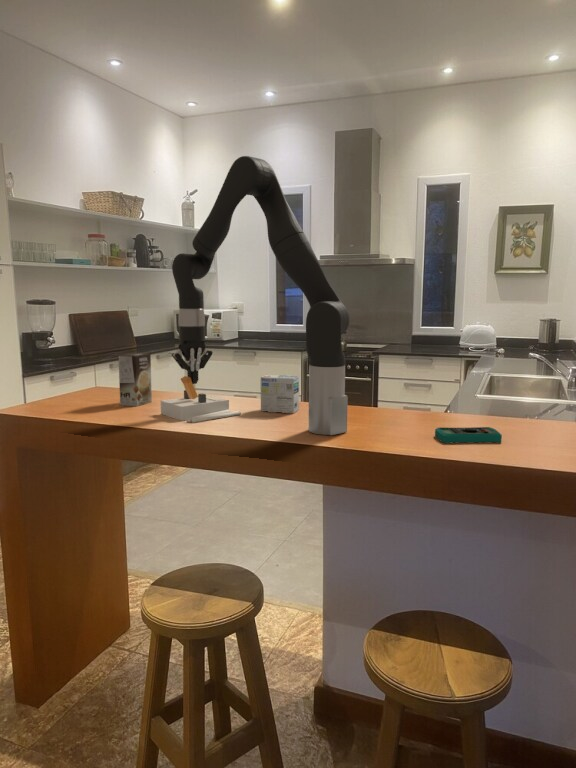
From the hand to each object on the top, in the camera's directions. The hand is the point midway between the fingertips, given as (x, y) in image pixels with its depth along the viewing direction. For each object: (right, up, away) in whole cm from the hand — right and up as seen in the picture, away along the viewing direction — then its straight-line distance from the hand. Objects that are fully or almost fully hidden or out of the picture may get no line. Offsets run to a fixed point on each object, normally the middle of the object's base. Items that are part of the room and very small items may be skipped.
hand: (193, 383), depth 167 cm
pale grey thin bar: (+5, -10, -4) cm, 12 cm away
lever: (0, -5, +1) cm, 5 cm away
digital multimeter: (+72, -14, -28) cm, 78 cm away
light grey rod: (+8, -10, -5) cm, 14 cm away
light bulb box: (+26, -9, +6) cm, 28 cm away
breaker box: (0, -9, +1) cm, 9 cm away
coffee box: (-21, -7, +17) cm, 28 cm away
